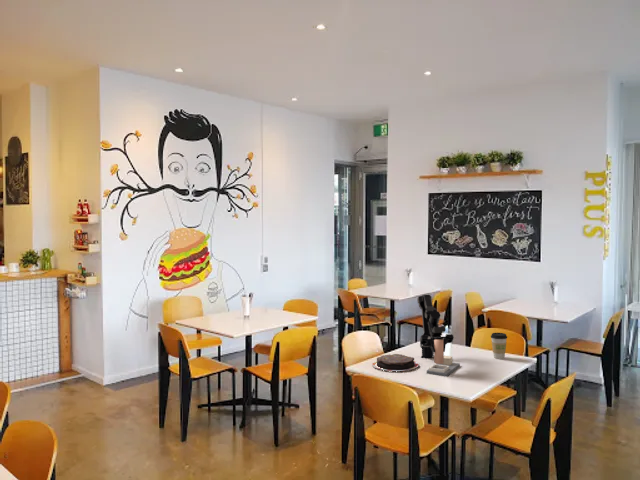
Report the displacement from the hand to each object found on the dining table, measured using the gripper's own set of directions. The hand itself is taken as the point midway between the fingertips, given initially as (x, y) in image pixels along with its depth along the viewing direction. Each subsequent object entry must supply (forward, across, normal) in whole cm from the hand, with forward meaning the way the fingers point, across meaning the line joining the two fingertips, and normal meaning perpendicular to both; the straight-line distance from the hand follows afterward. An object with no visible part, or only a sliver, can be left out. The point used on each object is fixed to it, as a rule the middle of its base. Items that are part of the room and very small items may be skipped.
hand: (439, 351), depth 298 cm
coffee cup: (-9, +44, +27) cm, 53 cm away
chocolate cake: (-3, -22, +21) cm, 31 cm away
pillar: (+4, 0, +6) cm, 7 cm away
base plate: (+4, +4, +13) cm, 14 cm away
